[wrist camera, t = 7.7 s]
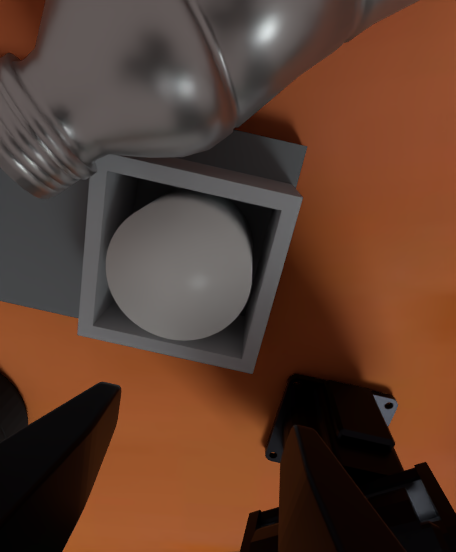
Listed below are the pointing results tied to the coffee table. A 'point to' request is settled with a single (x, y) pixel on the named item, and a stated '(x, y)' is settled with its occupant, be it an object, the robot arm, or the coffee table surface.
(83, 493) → the robot arm
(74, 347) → the coffee table surface
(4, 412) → the pen holder
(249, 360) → the twin socket base plate
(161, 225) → the grey button
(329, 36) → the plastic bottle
